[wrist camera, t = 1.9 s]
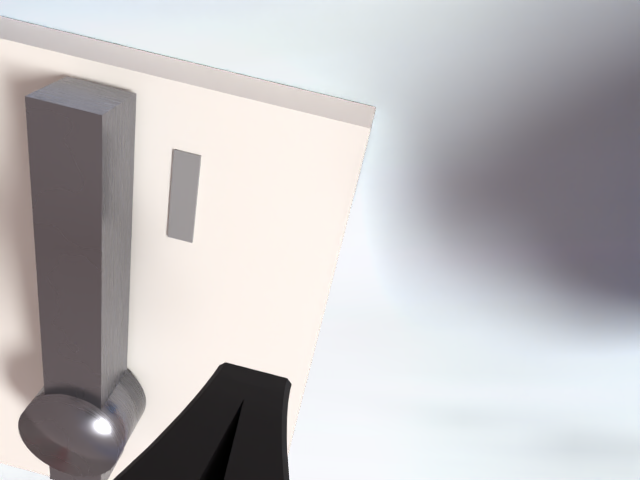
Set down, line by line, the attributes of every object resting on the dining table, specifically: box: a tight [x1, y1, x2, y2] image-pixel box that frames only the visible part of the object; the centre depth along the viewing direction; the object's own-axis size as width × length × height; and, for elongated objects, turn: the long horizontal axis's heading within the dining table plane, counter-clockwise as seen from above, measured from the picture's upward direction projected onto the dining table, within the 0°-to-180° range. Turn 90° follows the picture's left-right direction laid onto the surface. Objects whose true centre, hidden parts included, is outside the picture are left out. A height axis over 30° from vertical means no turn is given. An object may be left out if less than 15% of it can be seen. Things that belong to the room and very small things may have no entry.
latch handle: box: [18, 76, 146, 480], centre depth 19 cm, size 15×4×2 cm, turn 169°
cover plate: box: [0, 16, 376, 480], centre depth 22 cm, size 19×19×2 cm
